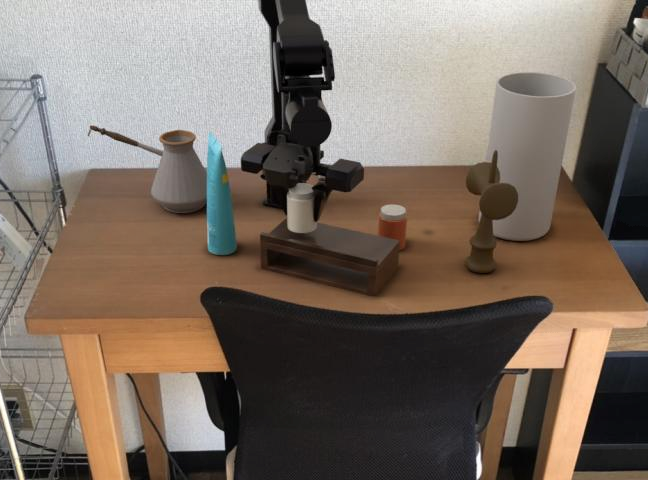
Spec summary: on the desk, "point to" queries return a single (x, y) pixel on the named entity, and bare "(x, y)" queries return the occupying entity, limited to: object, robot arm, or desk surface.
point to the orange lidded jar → (393, 223)
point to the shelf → (331, 256)
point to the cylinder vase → (530, 147)
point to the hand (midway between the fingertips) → (302, 217)
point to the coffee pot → (174, 171)
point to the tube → (219, 202)
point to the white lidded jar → (301, 208)
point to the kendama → (488, 211)
